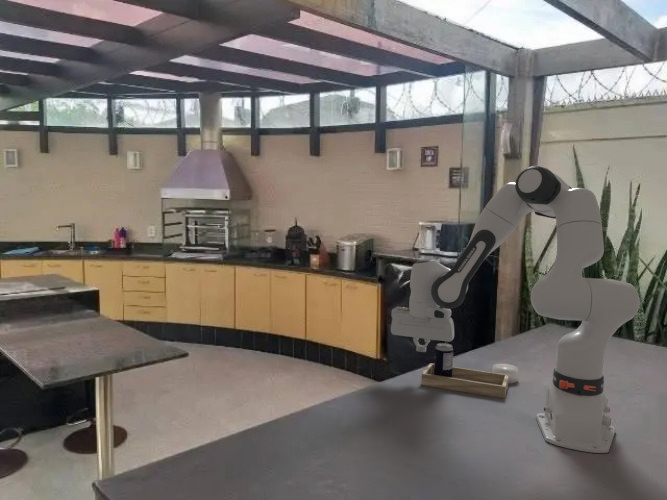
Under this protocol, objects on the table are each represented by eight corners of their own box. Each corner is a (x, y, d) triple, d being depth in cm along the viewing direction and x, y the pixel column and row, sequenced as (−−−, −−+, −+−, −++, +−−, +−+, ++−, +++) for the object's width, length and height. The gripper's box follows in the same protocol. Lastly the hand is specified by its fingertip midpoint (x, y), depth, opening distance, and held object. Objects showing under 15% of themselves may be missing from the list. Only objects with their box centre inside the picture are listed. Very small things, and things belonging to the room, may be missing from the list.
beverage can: (450, 379, 170) (452, 343, 169) (452, 385, 165) (454, 348, 163) (432, 378, 171) (434, 342, 170) (434, 384, 165) (436, 347, 164)
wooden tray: (504, 398, 155) (505, 387, 154) (421, 384, 164) (421, 374, 164) (508, 385, 166) (508, 374, 165) (429, 373, 175) (430, 363, 175)
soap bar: (516, 385, 166) (517, 373, 166) (490, 381, 170) (491, 369, 169) (518, 377, 174) (519, 365, 173) (493, 373, 177) (494, 362, 176)
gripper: (388, 307, 169) (387, 349, 171) (452, 314, 161) (450, 358, 163) (394, 304, 175) (393, 344, 176) (456, 310, 167) (454, 352, 168)
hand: (421, 351), depth 169 cm, fingers closed
